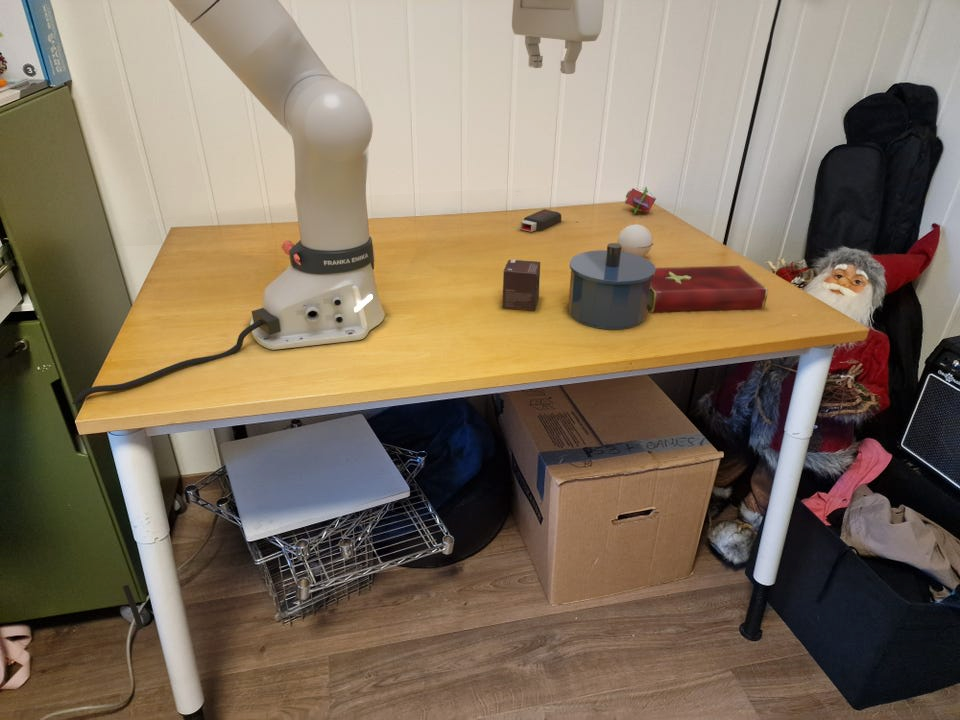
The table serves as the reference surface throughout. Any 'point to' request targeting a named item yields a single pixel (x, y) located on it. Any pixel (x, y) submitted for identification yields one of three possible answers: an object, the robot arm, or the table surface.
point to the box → (521, 284)
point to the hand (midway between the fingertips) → (550, 70)
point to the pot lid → (612, 266)
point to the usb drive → (540, 220)
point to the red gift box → (639, 200)
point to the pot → (608, 303)
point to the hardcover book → (705, 289)
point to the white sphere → (635, 240)
